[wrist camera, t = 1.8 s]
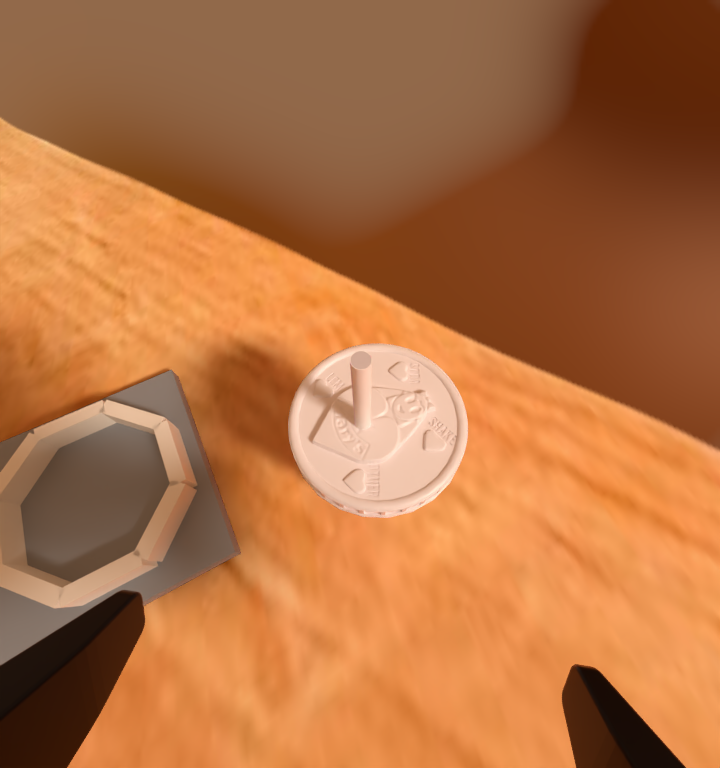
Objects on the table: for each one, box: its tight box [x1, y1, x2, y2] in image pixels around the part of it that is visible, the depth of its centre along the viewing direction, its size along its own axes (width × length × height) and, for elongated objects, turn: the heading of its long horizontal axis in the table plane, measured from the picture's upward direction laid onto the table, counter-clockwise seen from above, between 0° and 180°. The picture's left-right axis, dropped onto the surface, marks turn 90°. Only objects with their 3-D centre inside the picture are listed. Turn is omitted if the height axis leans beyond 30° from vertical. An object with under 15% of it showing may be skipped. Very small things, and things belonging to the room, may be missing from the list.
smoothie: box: [288, 344, 468, 518], centre depth 16 cm, size 6×6×14 cm
